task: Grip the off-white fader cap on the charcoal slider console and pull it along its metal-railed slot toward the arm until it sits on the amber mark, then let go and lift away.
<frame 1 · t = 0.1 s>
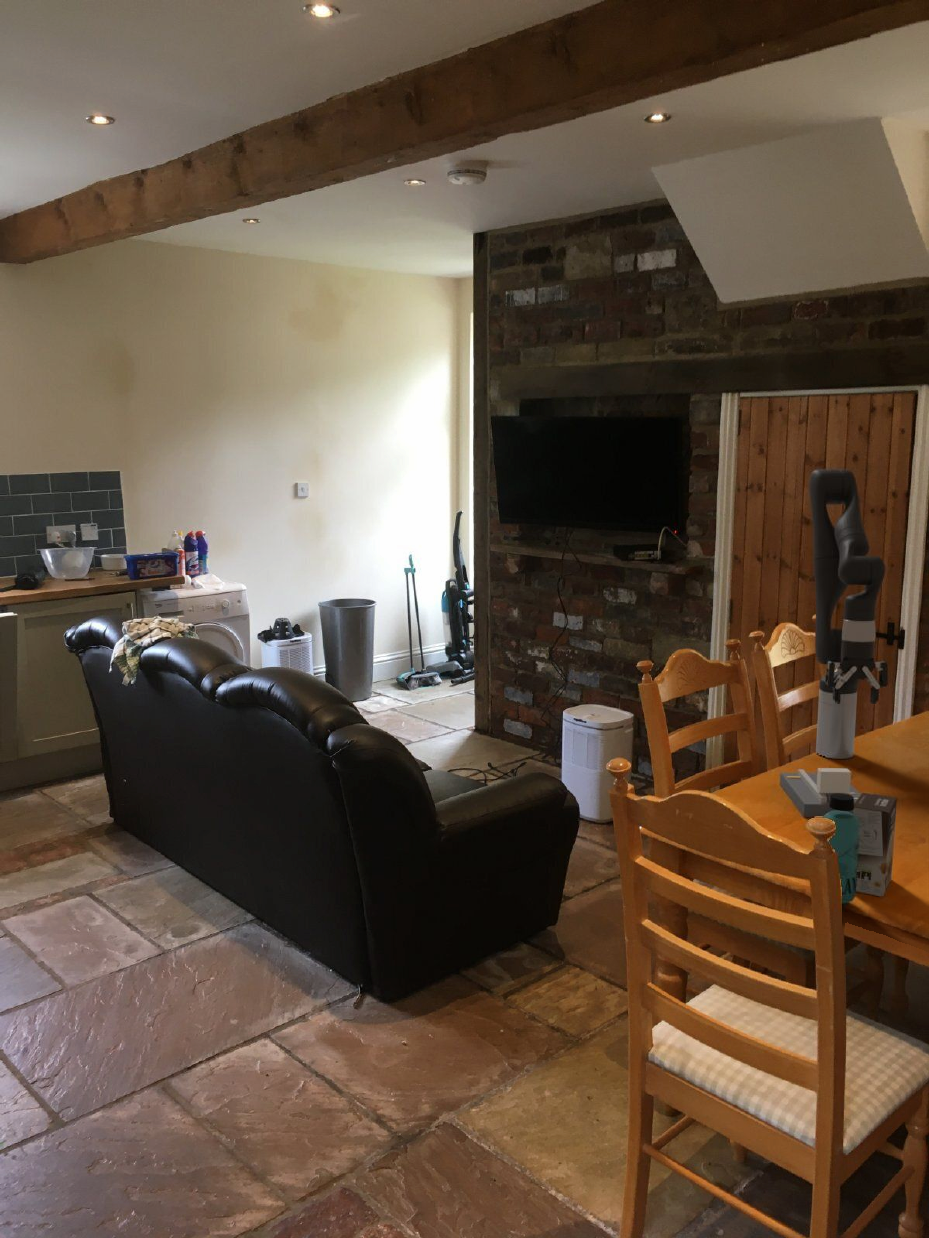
hand: (855, 703, 244), 17 cm above the table, tool pointing down, fingers open, 8 cm apart
coffee box: (869, 885, 184), on the table
console: (822, 800, 227), on the table
beverage bottle: (835, 904, 176), on the table
fader: (833, 784, 219), point 6 cm above the table, slide at 0.0 cm
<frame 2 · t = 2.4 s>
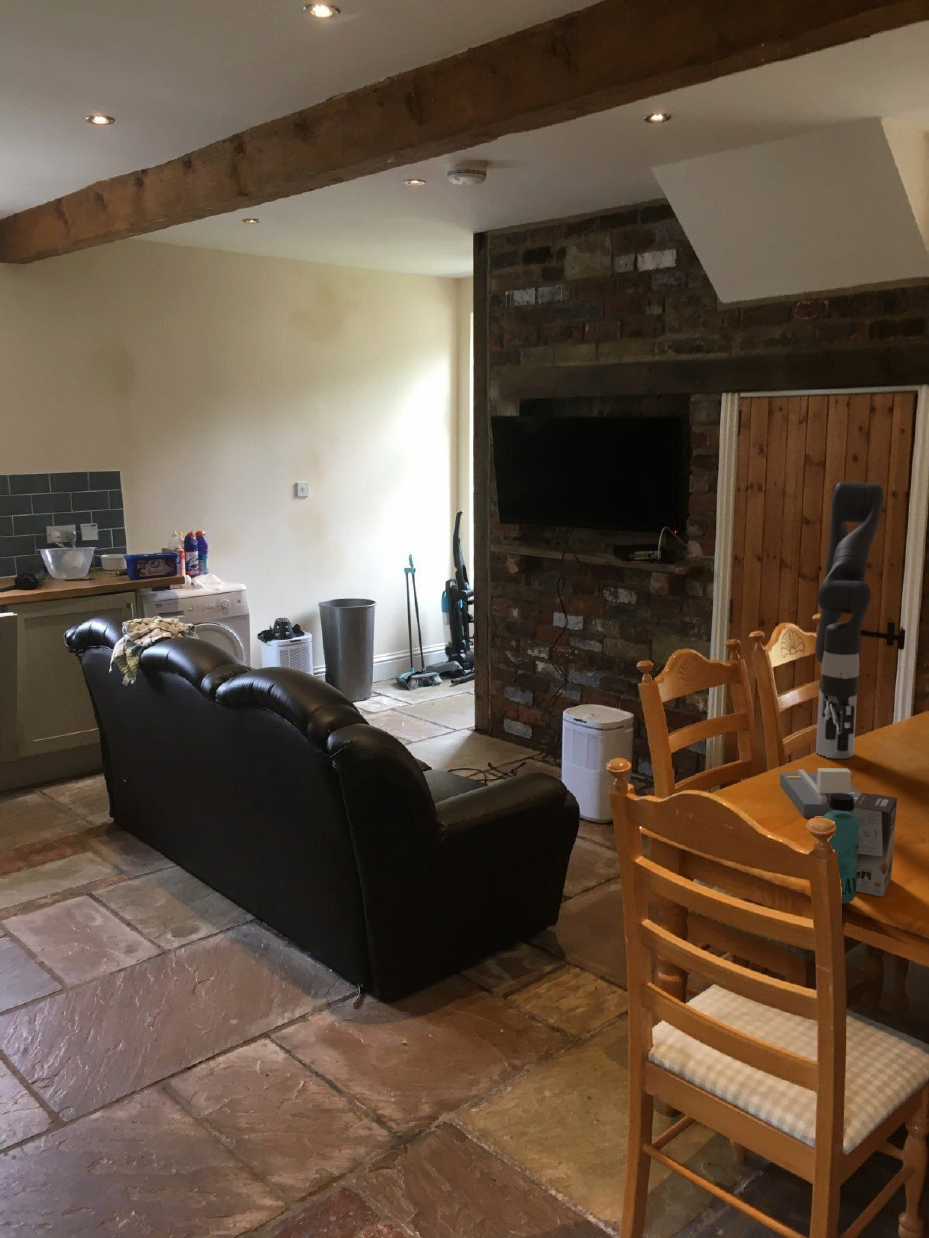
hand: (836, 745, 217), 15 cm above the table, tool pointing down, fingers open, 8 cm apart
nothing on the table moved.
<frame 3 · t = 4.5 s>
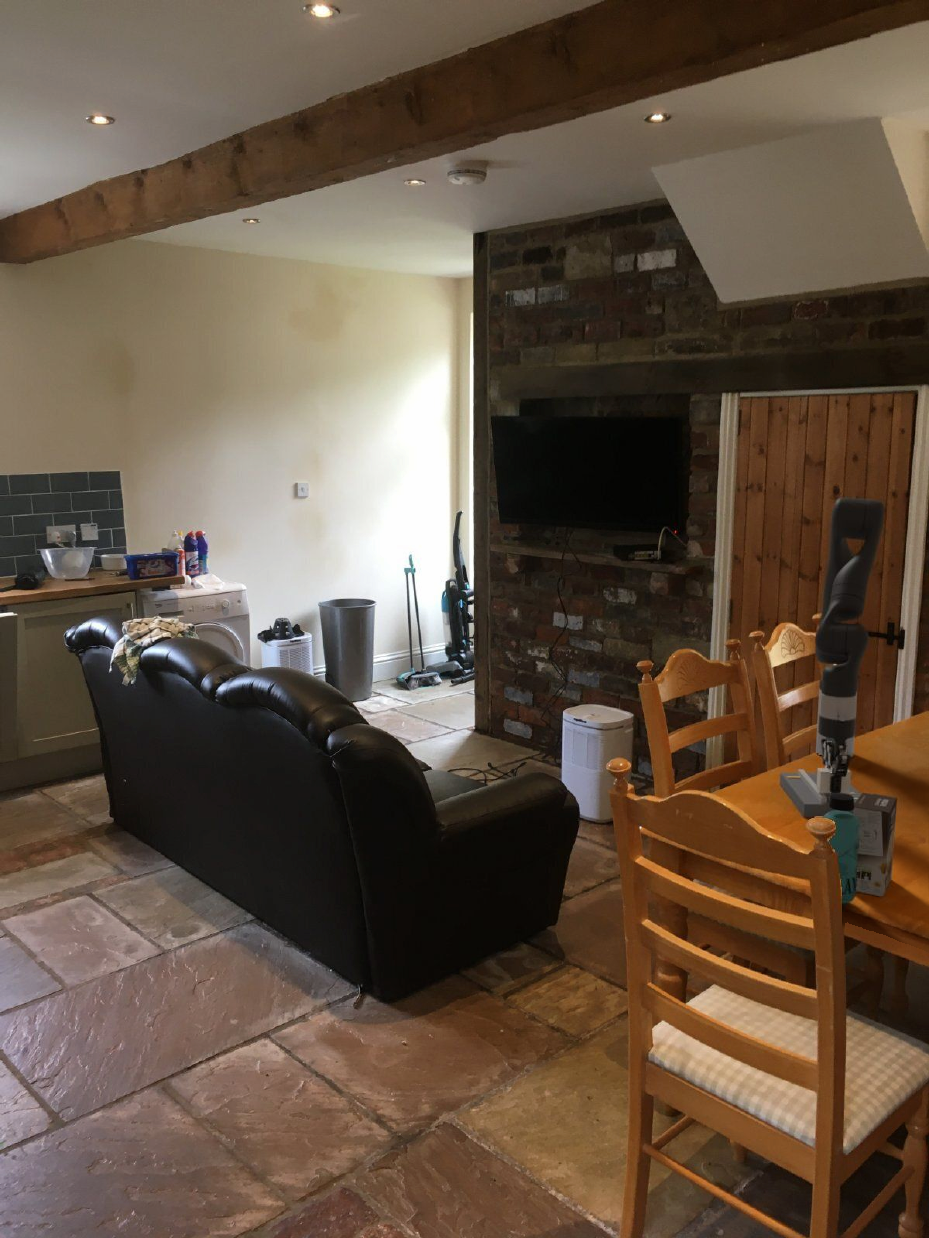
hand: (833, 789, 219), 5 cm above the table, tool pointing down, fingers closed on fader, 2 cm apart
fader: (833, 784, 219), point 6 cm above the table, slide at 0.0 cm, touching gripper
everything else where it was.
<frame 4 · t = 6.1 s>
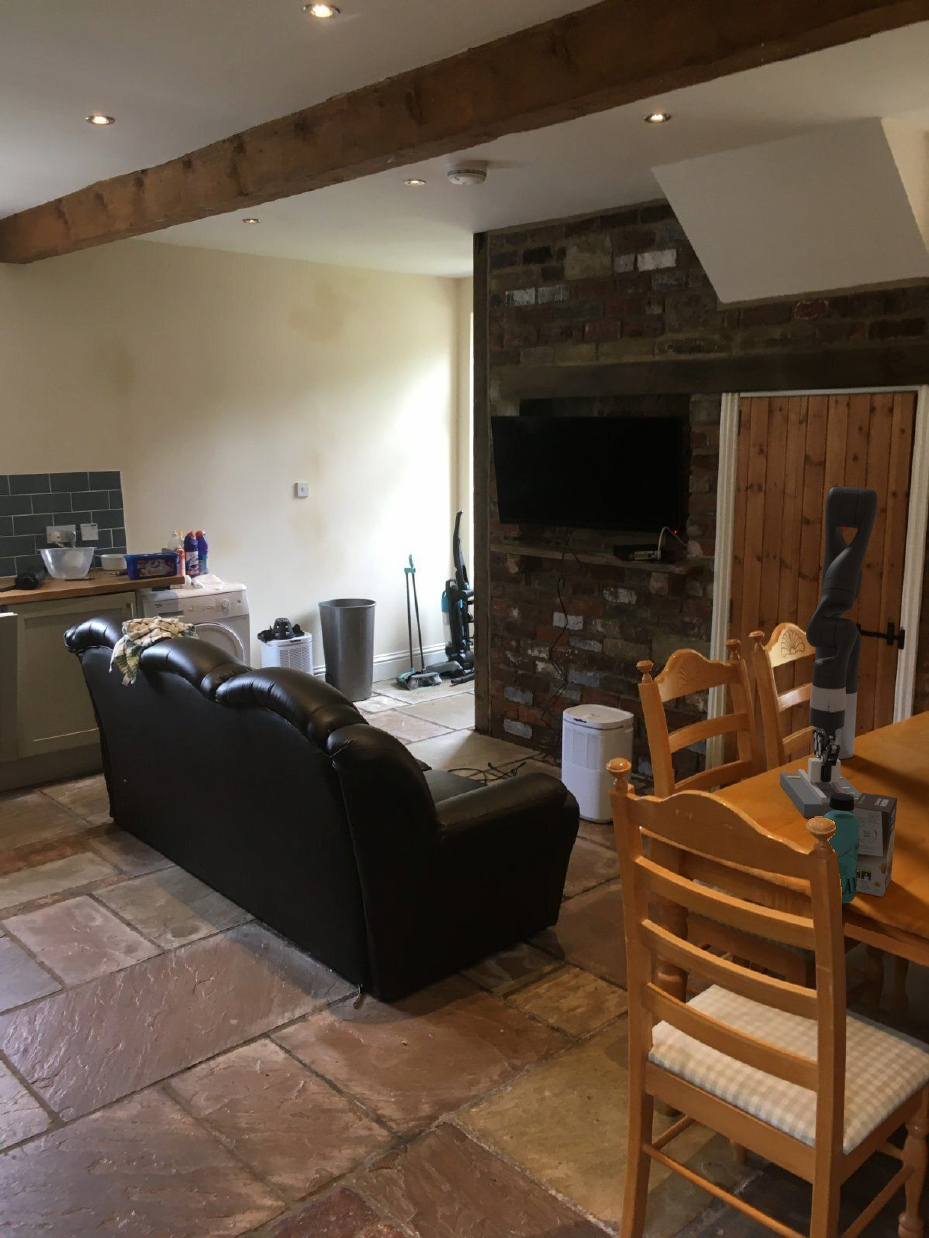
hand: (823, 778, 226), 5 cm above the table, tool pointing down, fingers closed on fader, 2 cm apart
fader: (823, 773, 226), point 6 cm above the table, slide at 7.3 cm, touching gripper
everything else where it was.
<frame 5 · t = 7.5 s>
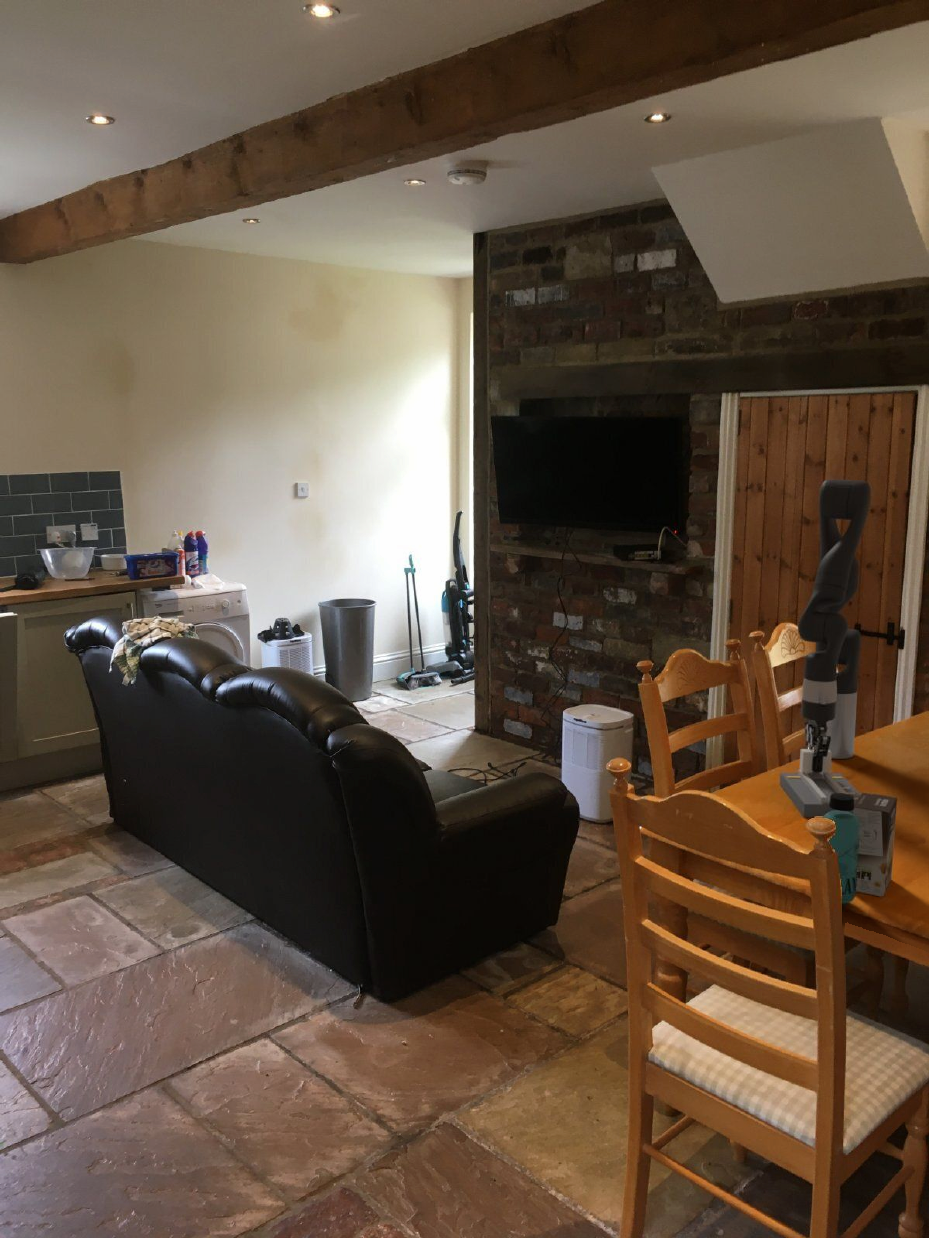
hand: (815, 769, 233), 5 cm above the table, tool pointing down, fingers closed on fader, 2 cm apart
fader: (815, 764, 233), point 6 cm above the table, slide at 14.0 cm, touching gripper
everything else where it was.
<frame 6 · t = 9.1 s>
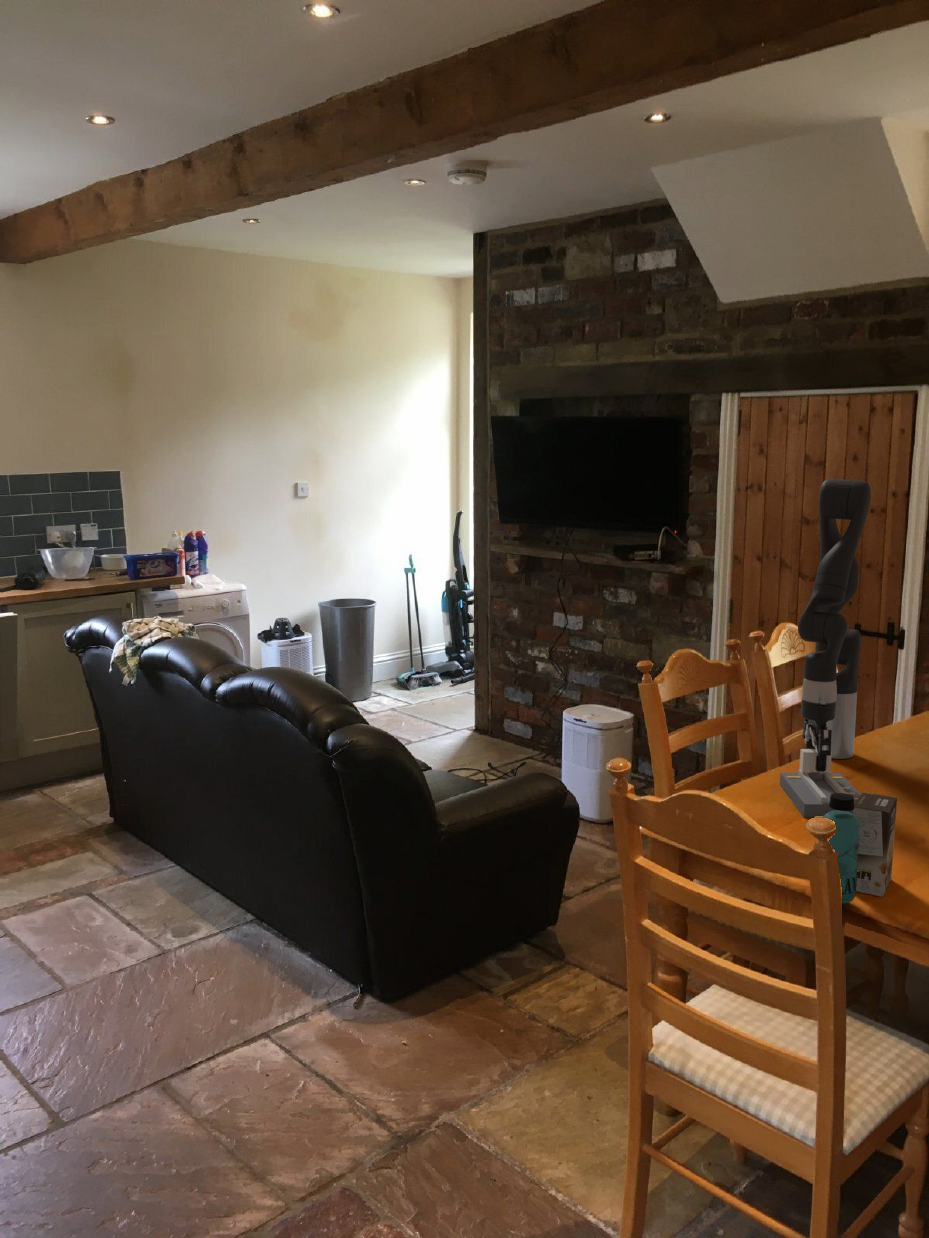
hand: (815, 765, 233), 6 cm above the table, tool pointing down, fingers open, 8 cm apart
fader: (815, 764, 233), point 6 cm above the table, slide at 14.0 cm
everything else where it was.
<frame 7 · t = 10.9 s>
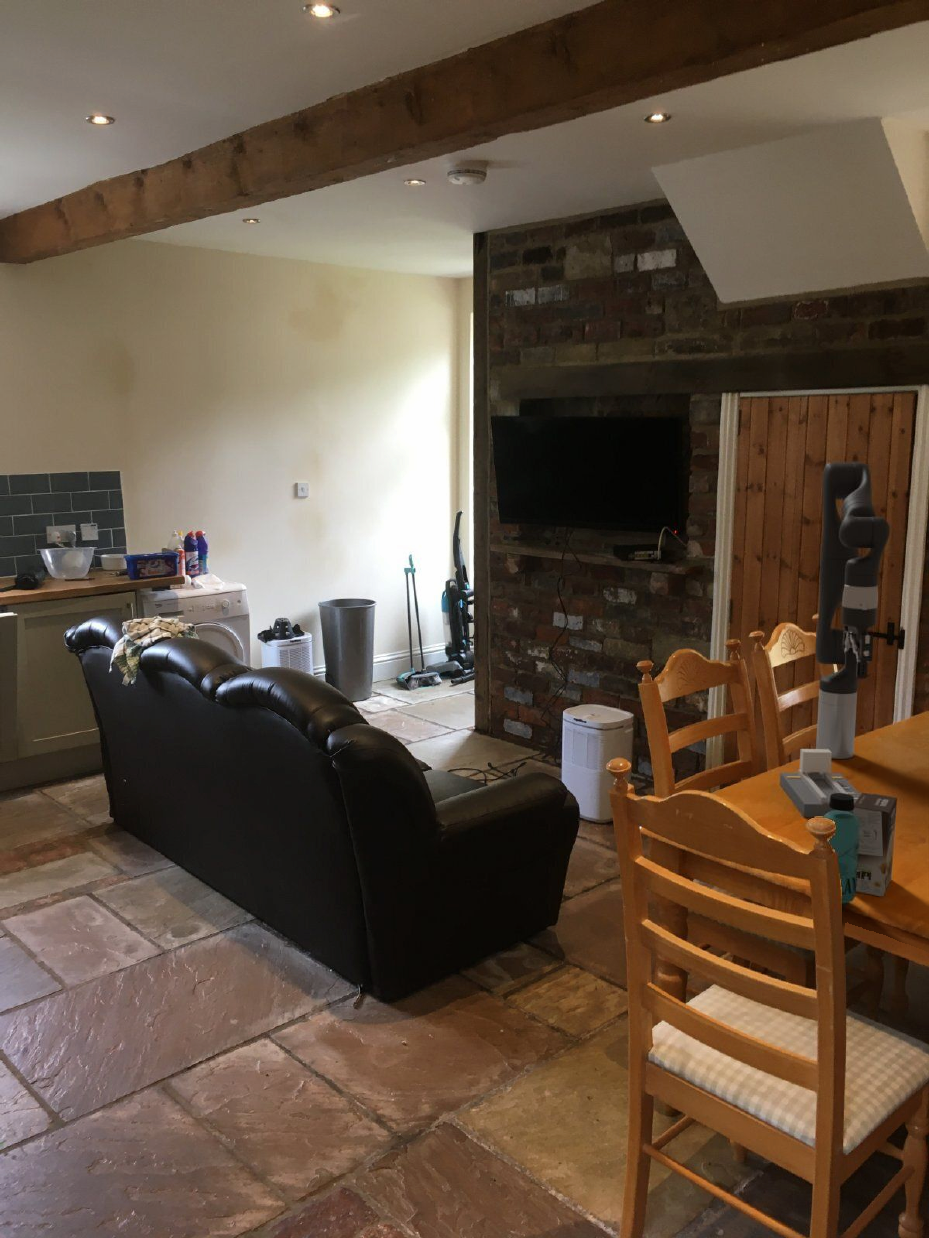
hand: (855, 673, 230), 28 cm above the table, tool pointing down, fingers open, 8 cm apart
nothing on the table moved.
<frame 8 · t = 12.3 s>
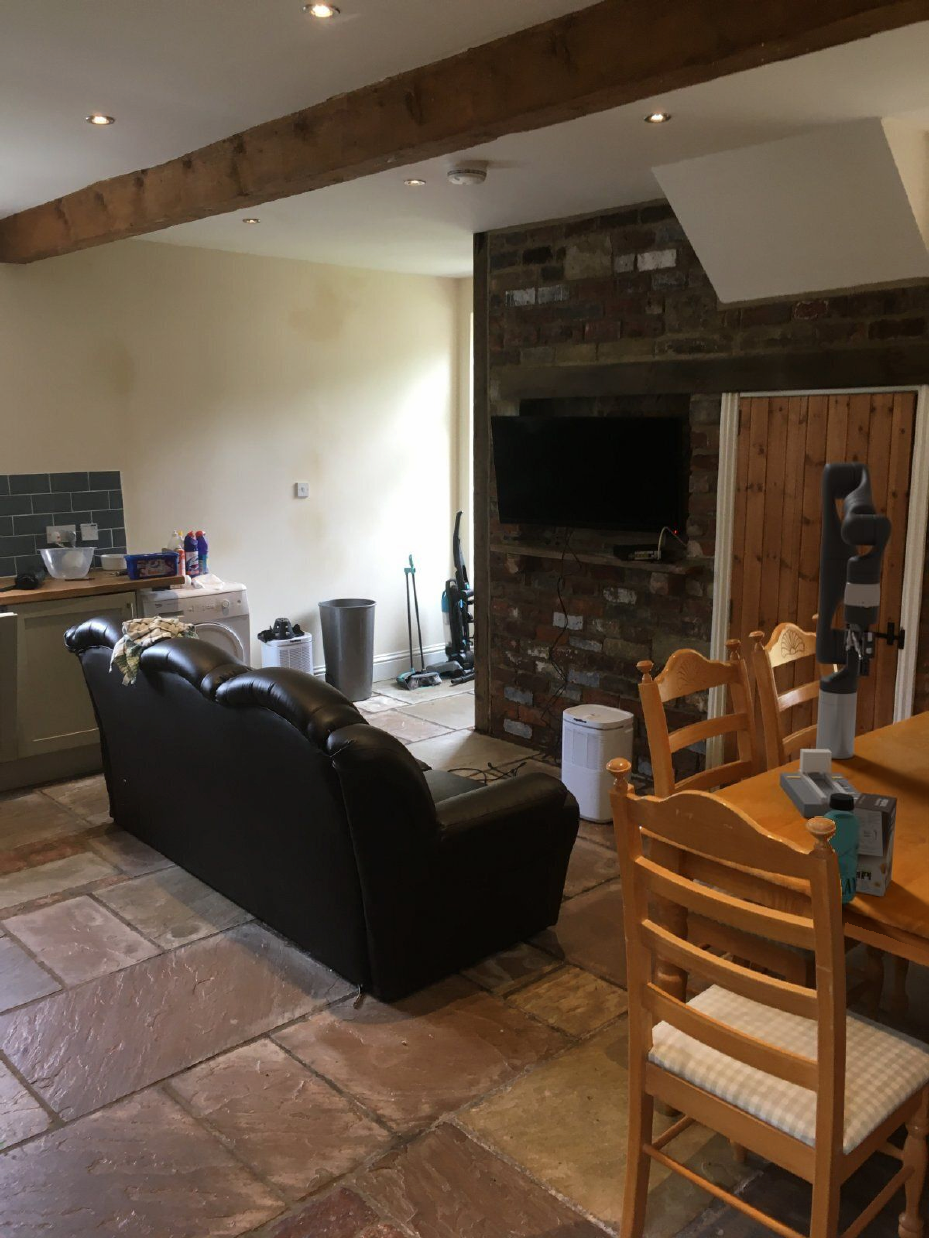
hand: (857, 671, 230), 28 cm above the table, tool pointing down, fingers open, 8 cm apart
nothing on the table moved.
at the end: fader slide at 14.0 cm; the gripper is holding nothing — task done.
